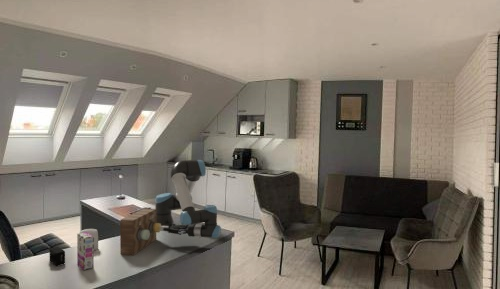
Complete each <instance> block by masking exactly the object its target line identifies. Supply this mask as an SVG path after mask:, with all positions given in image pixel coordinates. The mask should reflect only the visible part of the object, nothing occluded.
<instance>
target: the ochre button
mask: <svg viewBox="0 0 500 289" xmlns="http://www.w3.org/2000/svg"><path fill="white" fill-rule="evenodd" d="M159 226H161V224H160V223H154V225H153V232H156V233H160V232H161V231H159Z"/></svg>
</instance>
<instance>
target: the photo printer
mask: <svg viewBox="0 0 500 289" xmlns="http://www.w3.org/2000/svg"><path fill="white" fill-rule="evenodd" d="M84 232H87V233H89V234H90V235H92V236H94V251H95V250H96V251H97V250H99V232H98V229H95V228H85V229H83V230H80V231H79V233H84Z"/></svg>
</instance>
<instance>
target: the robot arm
mask: <svg viewBox="0 0 500 289" xmlns="http://www.w3.org/2000/svg"><path fill="white" fill-rule="evenodd" d="M206 173H207V172H206V163H205V161H204V160H202V159H188V160H186V159H185V160H184V159H183V160H178V161H177V162H175V164H173V166H172V167H171V169H170V179H171V182H172V183H173V185H174V187H175V190H176V193H175V194H172V192H165V193H161V194H160V193H159V194H157V195H156V196H155V201H154V203H155V205H154V206H155V208H154V209H156V223H160V224H161V226H159V231H160V232H168V233H169V234H175V235H179V236H181V235H184V234H185V235H186V234H187V236H188V237H190V238H191V237H195V238H199V239H200V238H209V239H218V238H219V237H220V236H221V233H222V228H221V226H220V225H219V224H218V208H217V206H216V205H214V204H207V205H205V206H204V208H203V209H197V210H196V208H195V204H194V202H193V196H192V192H193V189H194V187H195V185H196V182H198V181H199V180H200V179H201V177H202V178H203V177H205V176H206ZM176 210H177V211H178V210H181V212H180V214H179V222H180V223H181V224H178V225H177V224H176V225H175V224H174V222H175V220H174V218H173V216H172V211H176ZM201 223H202V224H201Z"/></svg>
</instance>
